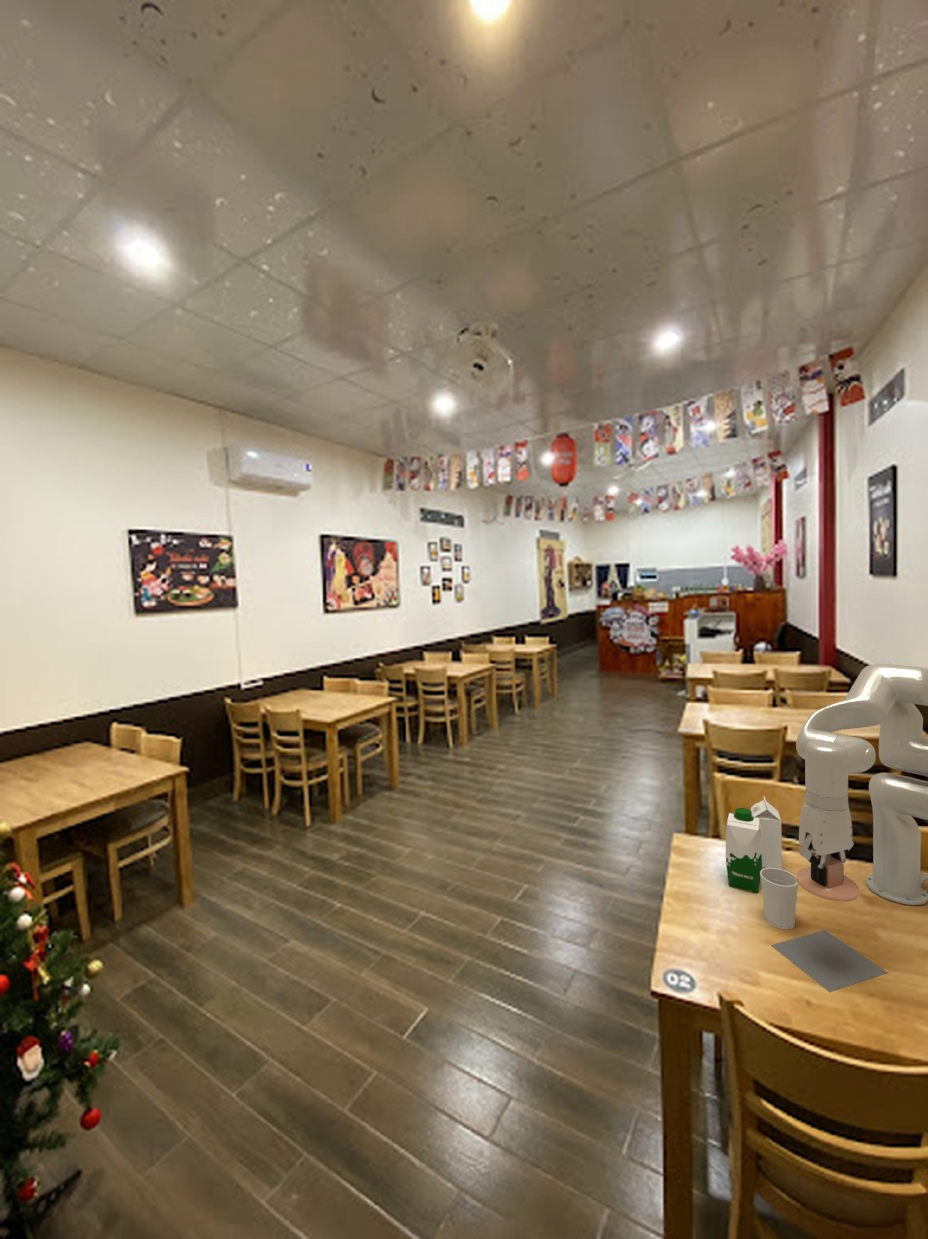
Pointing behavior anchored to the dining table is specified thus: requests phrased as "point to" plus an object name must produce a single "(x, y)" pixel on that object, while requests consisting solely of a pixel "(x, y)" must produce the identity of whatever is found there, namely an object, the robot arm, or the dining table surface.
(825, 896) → the lid
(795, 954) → the mat
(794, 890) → the cup
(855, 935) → the dining table surface
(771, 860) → the milk carton
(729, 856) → the soya milk
